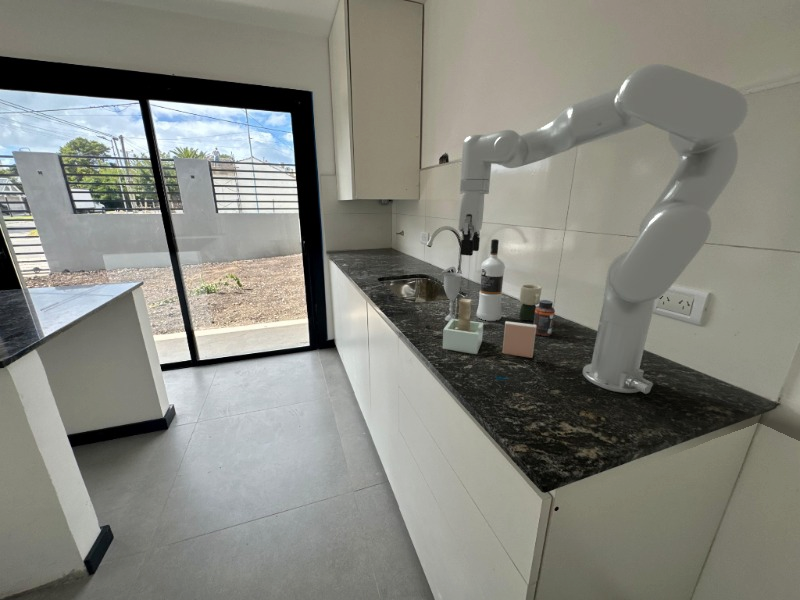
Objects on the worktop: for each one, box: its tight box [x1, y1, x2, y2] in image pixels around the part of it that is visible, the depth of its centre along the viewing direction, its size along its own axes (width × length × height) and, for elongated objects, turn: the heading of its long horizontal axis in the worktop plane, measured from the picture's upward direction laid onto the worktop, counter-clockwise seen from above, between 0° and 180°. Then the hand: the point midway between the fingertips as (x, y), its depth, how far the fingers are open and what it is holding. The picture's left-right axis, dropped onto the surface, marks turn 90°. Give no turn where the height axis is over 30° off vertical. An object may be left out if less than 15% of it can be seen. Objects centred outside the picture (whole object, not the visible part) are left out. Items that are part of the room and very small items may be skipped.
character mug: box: [518, 284, 542, 321], centre depth 118 cm, size 11×7×13 cm, turn 8°
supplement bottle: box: [532, 299, 556, 337], centre depth 105 cm, size 6×6×11 cm
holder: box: [442, 318, 484, 355], centre depth 95 cm, size 10×10×7 cm
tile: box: [502, 320, 537, 359], centre depth 88 cm, size 8×2×10 cm, turn 68°
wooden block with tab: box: [455, 298, 473, 332], centre depth 93 cm, size 5×3×14 cm, turn 68°
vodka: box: [476, 238, 506, 322], centre depth 118 cm, size 9×9×30 cm
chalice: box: [442, 272, 463, 322], centre depth 115 cm, size 7×7×18 cm
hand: (469, 252), depth 88 cm, fingers open, 9 cm apart
